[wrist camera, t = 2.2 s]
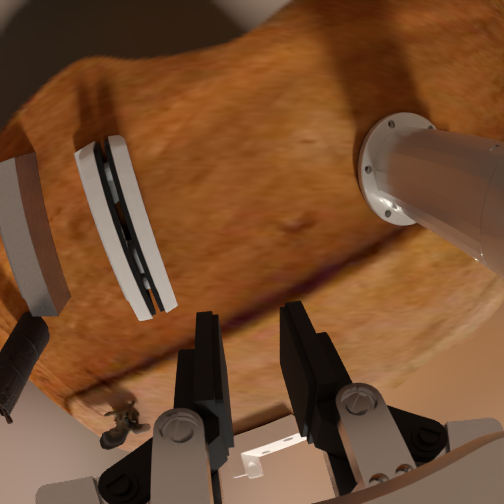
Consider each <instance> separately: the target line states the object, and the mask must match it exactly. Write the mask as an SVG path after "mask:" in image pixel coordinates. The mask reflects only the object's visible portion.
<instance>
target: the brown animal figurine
mask: <svg viewBox="0 0 504 504" xmlns="http://www.w3.org/2000/svg"><path fill="white" fill-rule="evenodd" d="M134 404H135V401H133V402H132V403H131V404H128V406H126V407H125V408H124V409H122V410H121V411H120V410H119V411H117V410H115V409H114V407H113V412H108V413H106V414H105V415H104V416H111V415H114V416H115V417H116V419H117V423H115V424H117V425H116V427H115V428H112V429H110V430H109V431H106V432H104V433H103V434H102V437H101V438H100V445H101V447H102V448H103V449H106V450H110V449H113V448H115V447H118V446H120V445H122V444H123V443H124V442H125V440H126V437H127V435H128V433H129V432H132V433H135V434H139V433H143V432H147V431H149V430H150V428H151V427H150V425H149V424H137V423H136V421H135V419H134V414H135V415H139V413H138V412H134V411H133V406H134Z"/></svg>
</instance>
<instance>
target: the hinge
mask: <svg viewBox="0 0 504 504" xmlns="http://www.w3.org/2000/svg"><path fill="white" fill-rule="evenodd" d="M104 147H105V151H106V155H107V159H108V162H106V163H104V164H103V162H104V157H103V154H102V150H101V146H100V142H99V143H95V141H94V142H92V143H90V144H89V145H87V146H85V147H84V148H82V149H80V150H79V151H77V152H75V153H74V155H75V159H76V163H77V167H78V170H79V174H80V177H81V181H82V184H83V188H84V191H85V194H86V197H87V200H88V203H89V206H90V210H91V213H92V215H93V218H94V221H95V224H96V227H97V230H98V232H99V235H100V238H101V241H102V243H103V246H104V248H105V251H106V254H107V256H108V259H109V261H110V264H111V266H112V268H113V271H114V273H115V276H116V278H117V280H118V283H119V285H120V287H121V289H122V292H123V294H124V296H125V298H126V300H127V301H129V302H130V304H131V306H132V308H133V310H134V312H135V314H136V316H137V317H138V319H139V321H143V320H148V319H153V317H152V315H155V314H156V312H155V309H154V305H153V302H152V299H151V296H150V293H149V290H148V289H149V288H151V290H152V293H153V295H154V297H155V300H156V302H157V304H158V307H159V309H160V311H161V312H162V311H164V310H165V311H166V313H167V312H169V311H170V310H172V309H173V308H175V307H176V306H177V302H176V299H175V296H174V293H173V290H172V288H171V285H170V282H169V279H168V276H167V273H166V270H165V268H164V265H163V262H162V259H161V256H160V253H159V250H158V247H157V244H156V241H155V238H154V235H153V232H152V229H151V226H150V223H149V219H148V216H147V213H146V210H145V207H144V204H143V201H142V197H141V194H140V191H139V187H138V184H137V181H136V177H135V174H134V170H133V167H132V163H131V160H130V156H129V153H128V149H127V145H126V142H125V139H124V138H123V137H122V136H121V135H114V136H108V139H107V140H105V141H104ZM118 201H119V202H120V205H121V208H122V211H123V214H124V217H125V220H126V223H127V226H128V229H129V232H130V235H131V238H132V240H126V237H125V234H124V232H123V229H122V226H121V223H120V220H119V217H118V214H117V211H116V208H115V204H116V203H117V202H118Z"/></svg>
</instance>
